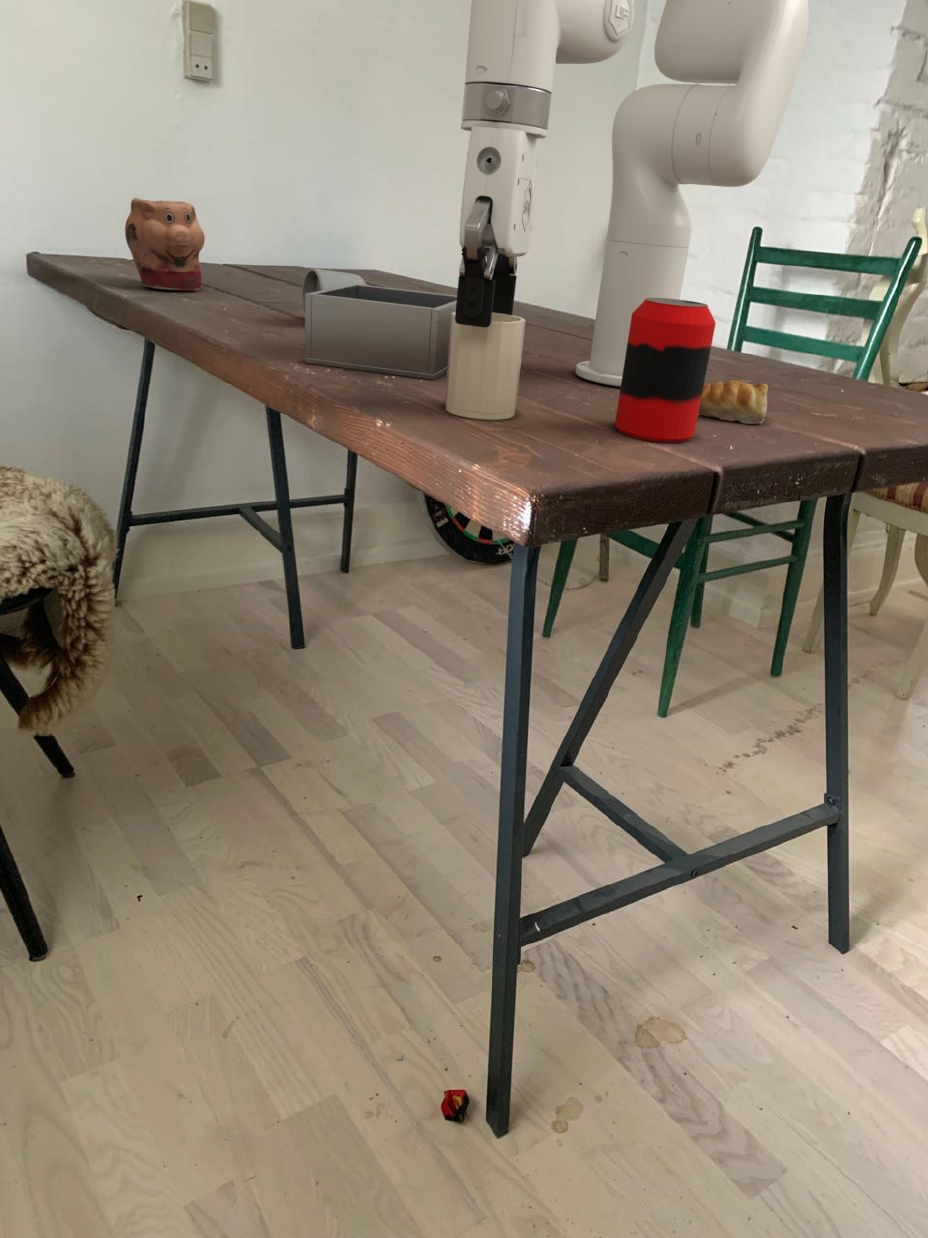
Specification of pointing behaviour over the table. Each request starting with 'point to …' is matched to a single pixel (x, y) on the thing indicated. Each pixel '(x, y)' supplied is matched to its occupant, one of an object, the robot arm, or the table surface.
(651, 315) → the soda can
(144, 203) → the decorative planter
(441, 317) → the grey open box
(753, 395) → the pastry
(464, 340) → the cup
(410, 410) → the table surface
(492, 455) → the table surface
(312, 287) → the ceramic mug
